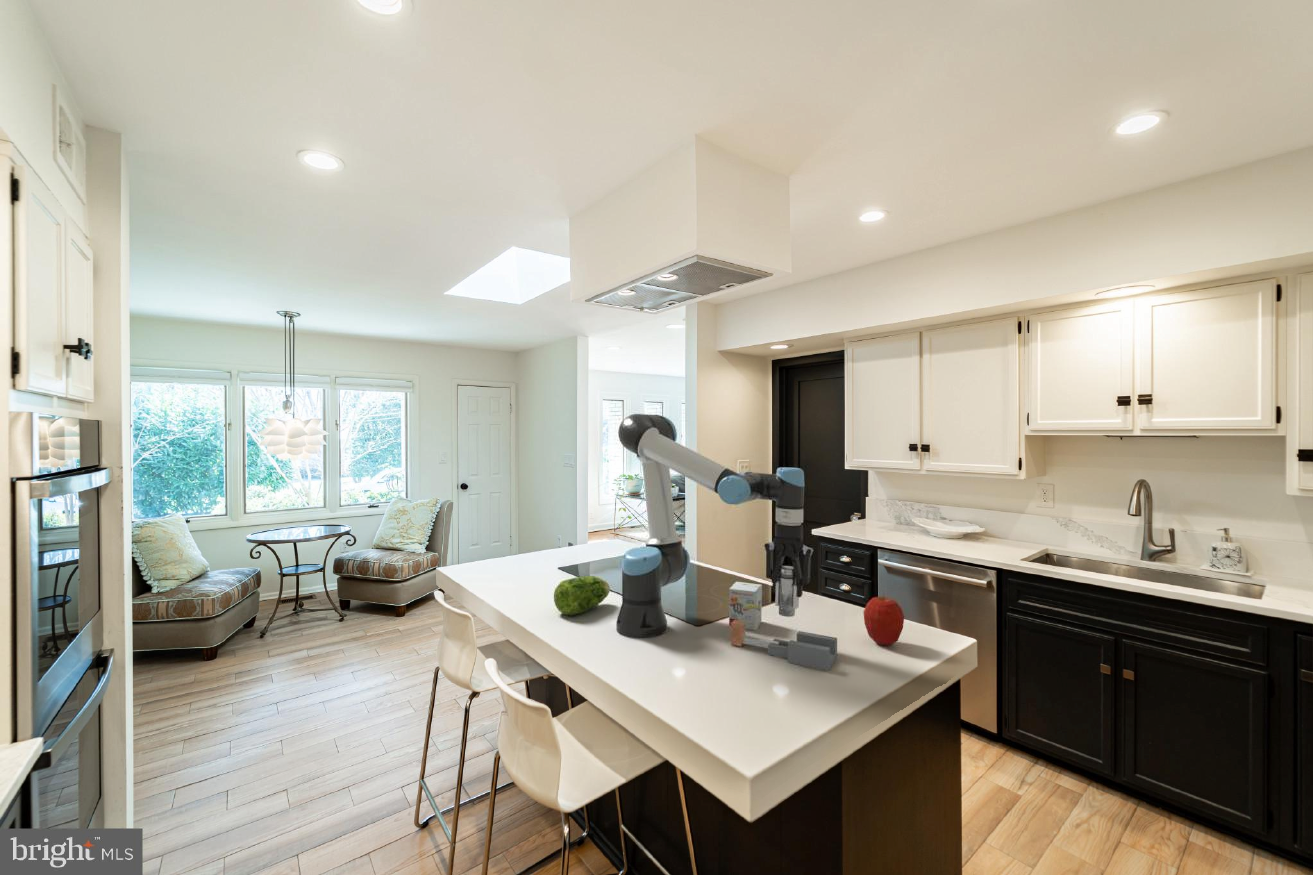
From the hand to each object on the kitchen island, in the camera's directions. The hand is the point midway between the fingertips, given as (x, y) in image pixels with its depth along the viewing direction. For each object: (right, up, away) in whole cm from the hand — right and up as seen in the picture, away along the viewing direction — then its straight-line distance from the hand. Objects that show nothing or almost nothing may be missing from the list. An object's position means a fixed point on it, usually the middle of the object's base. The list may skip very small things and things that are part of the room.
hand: (786, 606), depth 155 cm
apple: (+26, -10, -2) cm, 28 cm away
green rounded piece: (-60, -10, +29) cm, 67 cm away
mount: (+1, -10, -11) cm, 15 cm away
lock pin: (-10, -10, -5) cm, 15 cm away
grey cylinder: (0, -2, 0) cm, 2 cm away
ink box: (-9, -10, +15) cm, 20 cm away
